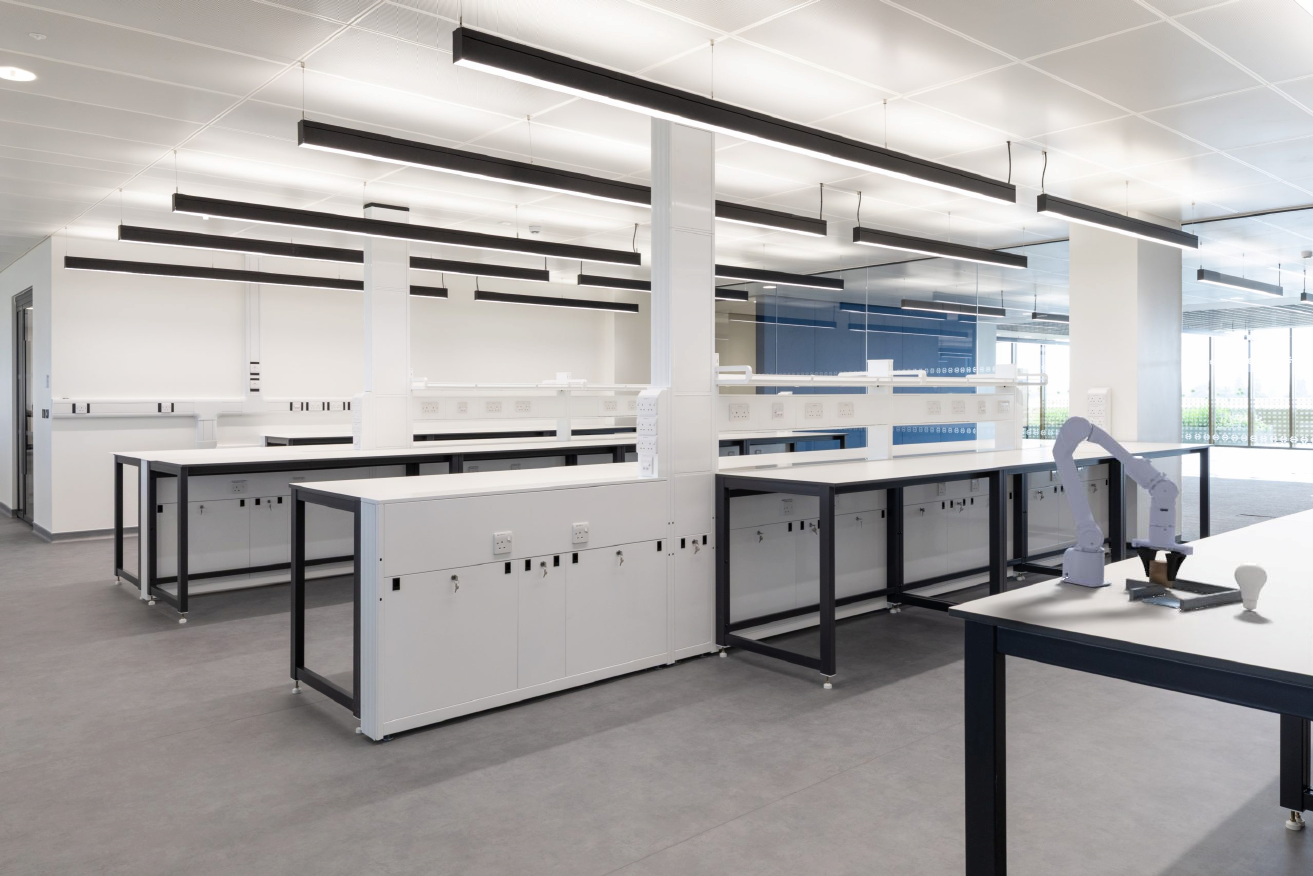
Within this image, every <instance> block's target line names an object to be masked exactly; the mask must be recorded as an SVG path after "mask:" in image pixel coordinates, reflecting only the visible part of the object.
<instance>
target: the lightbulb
mask: <svg viewBox="0 0 1313 876" xmlns="http://www.w3.org/2000/svg"><path fill="white" fill-rule="evenodd" d="M1234 580H1235V582H1236V583H1237V585H1238V587H1239V589H1240V590H1241V595H1242V598H1243V601H1242V607H1243V608H1244V609H1246V611H1248V612H1249V611H1254V610H1255V609H1257V605H1258V604H1257V603H1258V600H1259V597H1260V593H1261V590H1262V589H1263V587H1264V586H1265V584H1266V583H1267V580H1268V575H1267V572H1266V570H1265V568H1263V566H1261V565H1260V564H1258V563H1254V562H1244V563H1241V564H1239V565H1238V566H1237V567H1236V569H1235V570H1234Z"/></svg>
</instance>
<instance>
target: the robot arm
mask: <svg viewBox="0 0 1313 876" xmlns="http://www.w3.org/2000/svg"><path fill="white" fill-rule="evenodd" d="M1085 440H1086V441H1087V442H1088V443H1093V444H1096V445H1099V446H1100V447H1101V448H1103V449H1104V450H1105V451H1107V452H1108V453H1109V454H1110V455H1111V456H1113V457H1114V458H1115V459H1116V460H1118V461H1119V462H1120V463H1121V464H1122V465H1123V470H1124V471H1123V472H1124V473H1125V475H1127V476H1129V478H1130V479H1132V480H1133V481H1134V482H1135V483H1136V484H1138V486H1140V487H1141V488H1142V489H1144V490H1148V493H1149V496H1151V497H1150V506H1149V523H1148V525H1149V527H1148V539H1144V538H1143V539H1142V538H1132V539H1131V546H1132V547H1133V548H1139V549H1136V554H1137V555H1138V556H1139V558H1140V560H1141V563H1142V565H1143V569H1144V573H1145V577H1146V578H1149V567H1150V560H1156V558H1157V554H1158V551H1164V552H1167V553H1165V554H1164V557H1165V559H1166V560H1165V561H1167V568H1168V570H1167V579H1168V581H1175V579H1176V578H1177V575H1178V573H1179V571H1180V568H1181V566H1182V564H1183V562H1184V561H1185V559H1186V558H1187V556H1191V555H1192V556H1193V554H1194V547H1193V546H1190V545H1189V546H1188V545H1184V544H1180V543H1176V521H1177V520H1176V517H1177V514H1176V513H1177V508H1176V505H1177V502H1176V499H1177V498H1178V495H1179V490H1178V487H1177V484H1176V483H1175V482H1173V481H1172V480H1171V479H1170V478H1168V477H1167V474H1166V473H1165V472H1164V471H1163V472H1161V471H1160V470H1159V469H1158V468H1157V467H1155V466H1154V465H1153V464H1151V463H1152V461H1151V459H1150V458H1149V457H1146V458H1144V457H1143V456H1140V455H1139V456H1137V455H1132V453H1130V452H1129V451H1128V450H1127V449H1126V448H1125V447H1123V446H1122V445H1121V444H1120V443H1119V442H1118V441H1117V440H1116V439H1115V438H1114V437H1112V436H1111V435H1110V434H1109V433H1107V431H1106V430H1104V429H1102V428H1101V427H1099V426H1097V425H1096V424H1095V423H1092V422H1090V421H1089V420H1088V419H1087V418H1085V417H1083V416H1079V415H1077V416H1071V417H1069V418H1067V419H1066V421H1065V422H1063V424H1062V426H1061V427H1060V428H1059V431H1058V434H1057V435H1056V438H1055V442H1054V444H1053V448H1052V449H1051V450H1052V451H1051V452H1052V456H1053V460H1054V463H1055V466H1056V469H1057V471H1058V475H1059V477H1060V481H1061V484H1062V487H1063V489H1064V493H1065V495H1066V498H1067V501H1068V505H1069V508H1070V511H1071V513H1072V517H1073V519H1074V523H1075V526H1076V530H1075V537H1076V538H1075V539H1076V542H1077V543H1076V544H1075V545H1074V546H1073V547H1068V548H1067V549H1066V550H1065V551H1064V552H1063V555H1062V579H1063V578H1065V579H1064V580H1061V579H1060V581H1061V582H1067V583H1070V584H1075V585H1079V586H1084V587H1091V588H1096V587H1102V586H1103V587H1104V586H1110V585H1112V582H1110V581H1105V556H1106V555H1105V553H1106V551H1105V548H1103V547H1102V546H1103V544H1104V541H1105V536H1104V533H1103V532H1102V529H1101V528H1100V526H1098V525H1097V524H1096V522H1095V520H1094V519H1095V518H1094V516H1093V514H1092V510H1091V507H1090V505H1089V501H1088V499H1087V496H1086V493H1085V490H1084V486H1083V484H1082V481H1081V478H1080V475H1079V474H1080V473H1079V472H1078V469H1077V466H1076V462H1075V459H1074V457H1073V454H1074V453H1075V451H1076V449H1077V448H1078V446H1079V444H1081V443H1082V442H1083V441H1085ZM1066 577H1068V578H1066Z"/></svg>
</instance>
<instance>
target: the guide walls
mask: <svg viewBox="0 0 1313 876" xmlns="http://www.w3.org/2000/svg"><path fill="white" fill-rule="evenodd" d="M1173 587H1176V588H1175V589H1178V588H1181V589H1180V590H1183V589H1187V590H1186V591H1188V590H1191V591H1190V592H1194V591H1197V592H1196V593H1199V592H1203V593H1202V594H1203V595H1197V596H1192V597H1185V598H1179V600H1180V607H1179V610H1180V609H1181V610H1180V611H1182V610H1186V611H1190V610H1189V609H1192V610H1196V608H1198V609H1202V607H1204V608H1208V607H1207V606H1209V607H1214V605H1215V606H1220V604H1221V605H1226V604H1230V603H1231V604H1232V603H1237V601H1238V602H1243V598H1242V595H1241V590H1240V588H1235V587H1230V586H1226V585H1219V584H1214V583H1213V584H1212V583H1208V582H1202V581H1198V580H1190V579H1185V578H1180V577H1176V579H1175V581H1172V587H1171V588H1173ZM1127 588H1128V589H1127ZM1125 589H1127V590H1129V593H1128V594H1129V597H1128V598H1129V600H1131V601H1137V599H1138V600H1144V599H1150V597H1151V598H1154V597H1153V596H1157V597H1159V596H1158V595H1163V596H1165V595H1166V587H1165V585H1162V584H1156V583H1151V582H1149V581H1144V580H1139V579H1134V578H1130V577H1129V578H1125ZM1204 593H1208V594H1204ZM1164 594H1165V595H1164ZM1143 598H1144V599H1143Z"/></svg>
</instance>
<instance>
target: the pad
mask: <svg viewBox="0 0 1313 876" xmlns="http://www.w3.org/2000/svg"><path fill="white" fill-rule="evenodd" d="M1144 601H1146V602H1145V603H1149V602H1150V604H1153V603H1156V604H1155V605H1158V604H1161V605H1160V606H1163V605H1166V606H1165V607H1168V606H1171V607H1170V608H1173V607H1179V608H1180V599H1176V598H1172V597H1167V596H1157V597H1151V598H1144V599H1141V602H1144Z"/></svg>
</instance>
